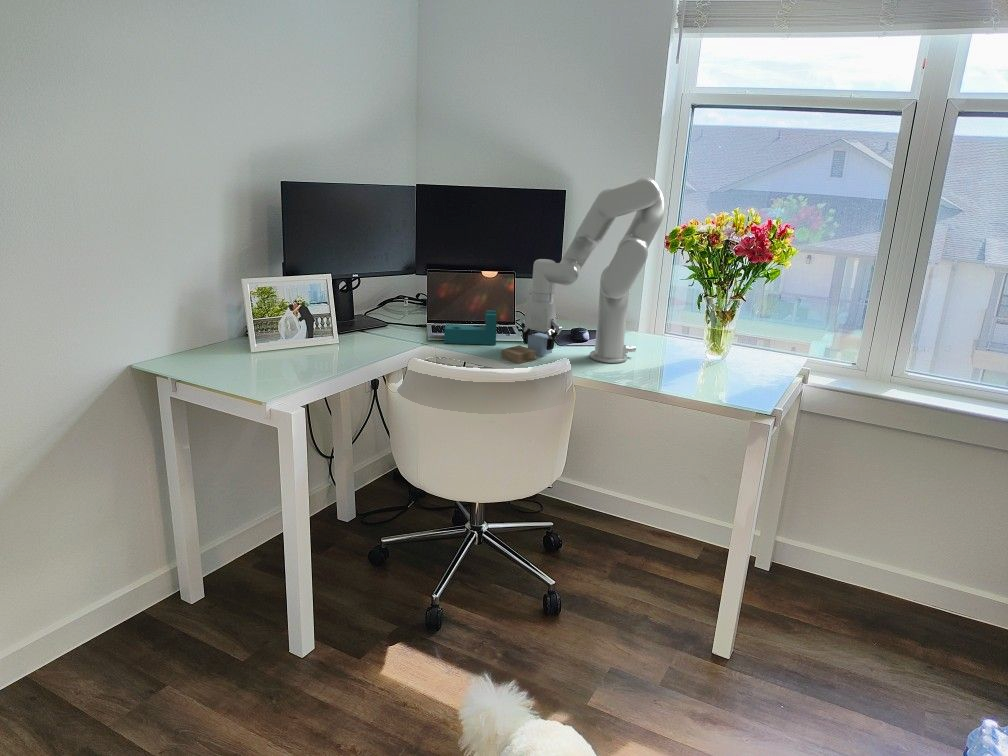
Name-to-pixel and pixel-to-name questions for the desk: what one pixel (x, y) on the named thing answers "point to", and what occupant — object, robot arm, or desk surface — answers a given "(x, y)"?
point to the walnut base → (519, 354)
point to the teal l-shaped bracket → (473, 332)
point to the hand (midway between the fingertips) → (538, 346)
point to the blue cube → (539, 343)
